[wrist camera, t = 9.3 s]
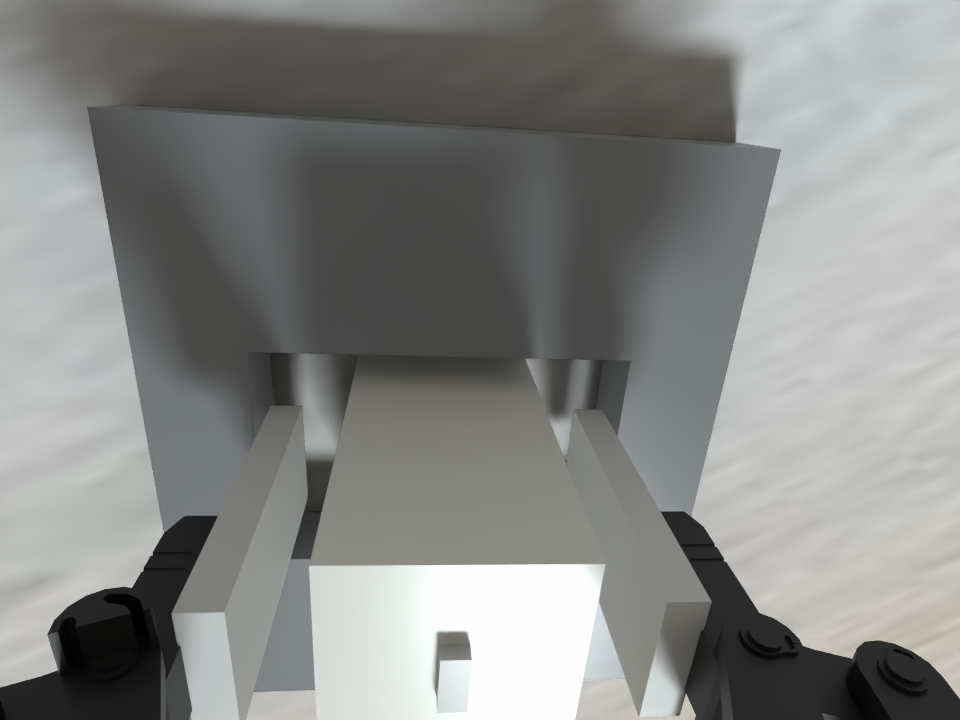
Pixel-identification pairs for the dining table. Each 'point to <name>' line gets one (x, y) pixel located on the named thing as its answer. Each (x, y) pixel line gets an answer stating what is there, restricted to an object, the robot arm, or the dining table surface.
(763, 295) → the dining table surface
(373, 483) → the charger
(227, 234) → the outlet plate
